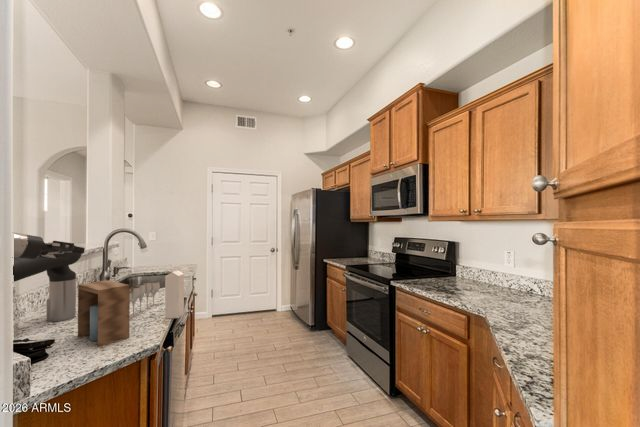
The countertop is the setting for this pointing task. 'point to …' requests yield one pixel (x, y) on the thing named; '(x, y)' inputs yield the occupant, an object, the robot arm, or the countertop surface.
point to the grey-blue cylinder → (94, 322)
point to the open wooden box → (105, 310)
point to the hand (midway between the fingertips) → (76, 253)
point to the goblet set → (139, 293)
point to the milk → (174, 294)
